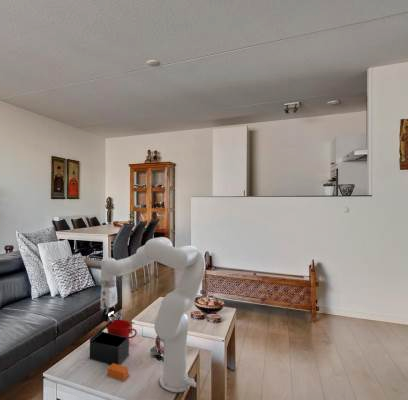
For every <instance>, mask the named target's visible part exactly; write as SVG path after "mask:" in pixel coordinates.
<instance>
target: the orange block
mask: <svg viewBox="0 0 408 400" xmlns="http://www.w3.org/2000/svg"><path fill="white" fill-rule="evenodd" d="M107 377H110V378H112V379H116V380H119V381H123V382H124V381H125V380H126V379H127V378H128V377H129V366H128V367H127V366H124V365H121V364H120V365H117V364H114V363H112V364H111V365H110V364H109V366H108V367H107Z"/></svg>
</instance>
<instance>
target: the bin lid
mask: <svg viewBox="0 0 408 400" xmlns="http://www.w3.org/2000/svg"><path fill="white" fill-rule="evenodd" d="M111 315H113V316H114V317H113V318H112V317H110V316H111ZM122 315H123V312H121V313H119V314H118V315H117V316H116V315H114V311H110V312H109V311H108V322H109V321H110V322H109V323H108V322H107V323H108V324H107V323H106V324H105V325H104V326H103V327H102V328H100V329H99V330H98V331H97V332H96V333H95V334H94V335H92V336H91V337H90V338H89V341H90V340H92V339H93V338H94V337H96V336H97V335H98V334H100V333H101V332H104V331H105V330H107V327H108V326H109V325H110V324H112V323H113V322H114V321H115V320H118V319H119V318H121V316H122Z"/></svg>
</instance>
